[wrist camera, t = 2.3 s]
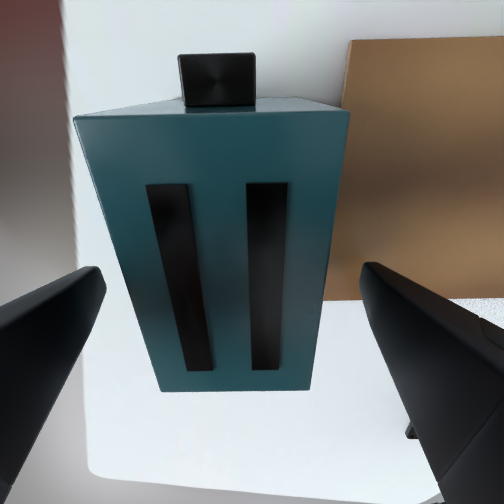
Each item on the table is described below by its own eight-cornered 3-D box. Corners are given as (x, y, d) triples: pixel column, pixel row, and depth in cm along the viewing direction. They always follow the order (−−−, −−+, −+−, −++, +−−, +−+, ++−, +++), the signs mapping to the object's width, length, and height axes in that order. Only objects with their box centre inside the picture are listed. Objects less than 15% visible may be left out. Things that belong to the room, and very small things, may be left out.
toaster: (287, 274, 18) (310, 394, 11) (195, 275, 18) (159, 395, 11) (299, 65, 12) (365, 36, 5) (162, 68, 12) (42, 45, 5)
